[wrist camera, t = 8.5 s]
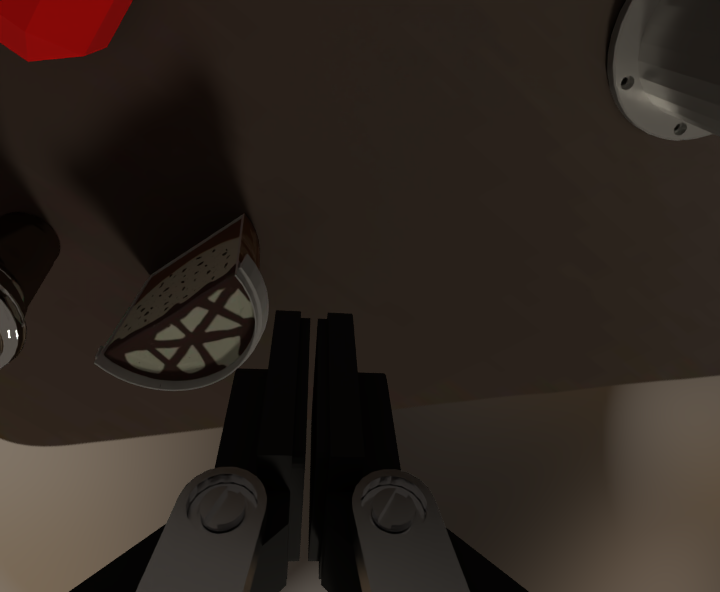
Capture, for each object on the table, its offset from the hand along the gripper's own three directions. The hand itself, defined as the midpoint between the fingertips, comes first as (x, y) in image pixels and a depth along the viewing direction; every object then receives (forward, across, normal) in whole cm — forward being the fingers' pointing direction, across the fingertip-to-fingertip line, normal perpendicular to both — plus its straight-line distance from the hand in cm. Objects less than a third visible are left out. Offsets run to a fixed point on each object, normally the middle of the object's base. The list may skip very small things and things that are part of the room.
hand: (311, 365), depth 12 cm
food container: (+27, +7, +14) cm, 31 cm away
